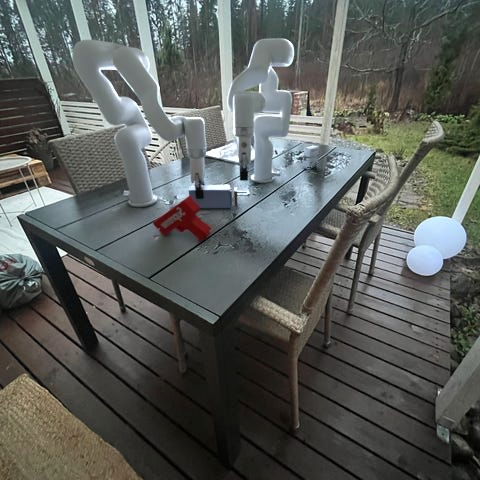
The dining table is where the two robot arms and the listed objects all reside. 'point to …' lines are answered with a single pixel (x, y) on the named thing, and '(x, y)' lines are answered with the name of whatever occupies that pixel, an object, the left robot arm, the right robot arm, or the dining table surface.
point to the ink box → (310, 156)
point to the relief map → (228, 153)
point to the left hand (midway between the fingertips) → (200, 195)
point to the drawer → (237, 195)
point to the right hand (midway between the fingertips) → (243, 176)
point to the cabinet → (212, 197)
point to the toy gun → (183, 220)
